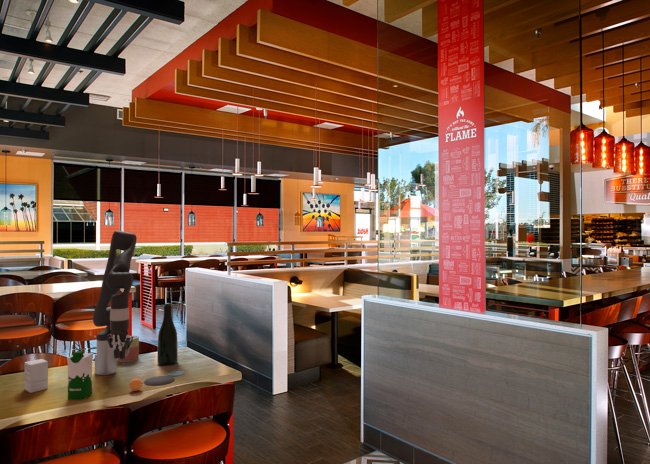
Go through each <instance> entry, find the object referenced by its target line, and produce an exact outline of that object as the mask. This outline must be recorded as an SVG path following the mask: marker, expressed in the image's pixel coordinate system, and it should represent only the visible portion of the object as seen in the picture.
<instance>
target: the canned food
mask: <svg viewBox="0 0 650 464" xmlns="http://www.w3.org/2000/svg"><path fill="white" fill-rule="evenodd" d="M129 336H130V337H131V336H133V340H132V342H131V345H130V347H129V348H128V349H126V350H125V358H124V359H119V358H117V362H121V363H127V362H128V363H130V362H135V361H137V360H139V359H140V357H139V356H140V355H139V351H140V350H139V348H140V346H139V345H140V344H139V343H140V342H139V341H140V336H137V335H129ZM121 343H123V342H121ZM122 347H123V345H122ZM119 349H120V348H119Z"/></svg>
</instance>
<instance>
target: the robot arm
mask: <svg viewBox="0 0 650 464" xmlns="http://www.w3.org/2000/svg"><path fill="white" fill-rule="evenodd" d="M136 245H137V235H136V233H134V232H133V233H132V232H128V231H123V230H114V231H113V233H112V235H111V239H110V246H109V251H108V257H107V263H106V266H105V270H104V273H103V277H102V281H101V282H102V283H101V286H100V287H101V288H100V292H99V296H98V299H97V302H96V304H95V308H94V310H93V314H92V321H93V322H92V323H93V324H94V326H95V327H97V328H98V327H101V328H102V327H105V328H104V329H103V330H102V331H100V332H99V333H97V334H96V354H95V355H94V374H95V375H97V376H108V375H112V374H115V373H116V372H117V362H118V361H117V358H119V359H124V358H125V350H126V349H128V348H129V347H130V345H131V342H132V340H133V336H134V335H129V332H128V330H129V329H130V310H129V307H130V306H129V304H130V303H129V302H130V301H129V297H130V294H131V293H130V292H131V289H132V285H133V282H134V275H133V274H132V273H131V272H130V269H131V263H132V258H133V256H134V253H135V250H136V249H135V248H136ZM117 251H122V252H121V253H119V254H118V253H117ZM121 289H123V291H122V292H120V290H121ZM109 303H110V306H109ZM130 336H131V337H130ZM121 342H123V343H121ZM122 345H123V347H122ZM119 348H120V349H119Z"/></svg>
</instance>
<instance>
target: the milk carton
mask: <svg viewBox="0 0 650 464" xmlns="http://www.w3.org/2000/svg"><path fill="white" fill-rule="evenodd" d="M93 359H94V353H93V352H91V353H87V352H86V353H84V350H77V351H73V352H72V355H70V356H68V357H66V361H67V400H85V399H87V398H89V396H91V395H92V394H93Z"/></svg>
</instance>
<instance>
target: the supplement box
mask: <svg viewBox="0 0 650 464" xmlns="http://www.w3.org/2000/svg"><path fill="white" fill-rule="evenodd" d="M48 367H49V362H48V360H45V359H43V358H40V359H39V358H38V359H34V360H28V361H25V362H24V391H26V392H28V393H30V394H31V393H36V392H39V391H43V390H48V389H49V368H48Z"/></svg>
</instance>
